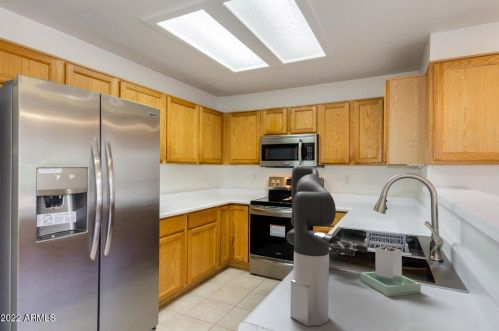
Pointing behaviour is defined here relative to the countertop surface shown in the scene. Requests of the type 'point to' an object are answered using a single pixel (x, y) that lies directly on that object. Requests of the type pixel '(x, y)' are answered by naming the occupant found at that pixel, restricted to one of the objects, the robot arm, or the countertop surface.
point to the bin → (393, 290)
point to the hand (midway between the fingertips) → (360, 251)
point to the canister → (388, 266)
